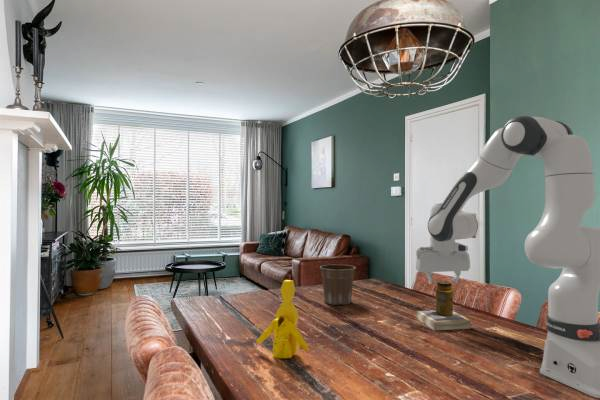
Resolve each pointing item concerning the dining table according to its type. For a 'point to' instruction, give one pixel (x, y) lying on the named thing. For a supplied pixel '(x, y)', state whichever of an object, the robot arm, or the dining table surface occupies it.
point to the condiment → (444, 300)
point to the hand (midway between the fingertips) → (443, 283)
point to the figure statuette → (285, 326)
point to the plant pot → (337, 283)
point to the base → (443, 321)
